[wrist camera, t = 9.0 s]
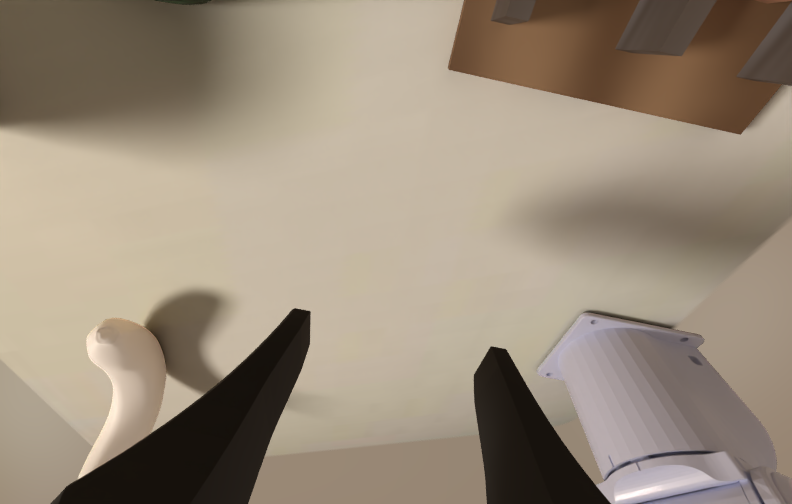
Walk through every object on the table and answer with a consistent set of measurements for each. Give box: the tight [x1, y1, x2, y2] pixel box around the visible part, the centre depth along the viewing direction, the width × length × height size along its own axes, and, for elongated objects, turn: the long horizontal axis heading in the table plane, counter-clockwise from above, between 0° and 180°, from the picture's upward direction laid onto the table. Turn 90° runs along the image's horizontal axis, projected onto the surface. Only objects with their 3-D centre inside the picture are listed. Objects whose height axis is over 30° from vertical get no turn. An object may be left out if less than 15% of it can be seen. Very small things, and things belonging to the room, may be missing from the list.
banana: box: [78, 318, 166, 479], centre depth 25 cm, size 5×19×15 cm, turn 164°
